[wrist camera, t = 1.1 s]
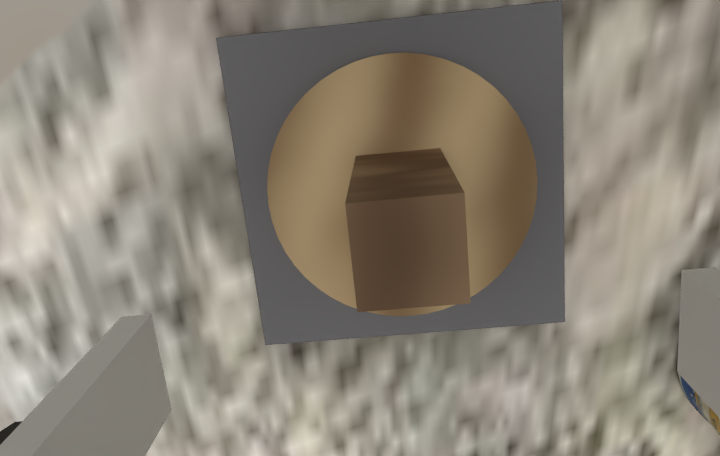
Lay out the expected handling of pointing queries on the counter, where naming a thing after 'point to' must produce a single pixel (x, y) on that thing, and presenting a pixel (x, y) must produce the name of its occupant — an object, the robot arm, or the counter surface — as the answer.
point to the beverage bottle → (700, 405)
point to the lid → (402, 184)
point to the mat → (422, 36)
